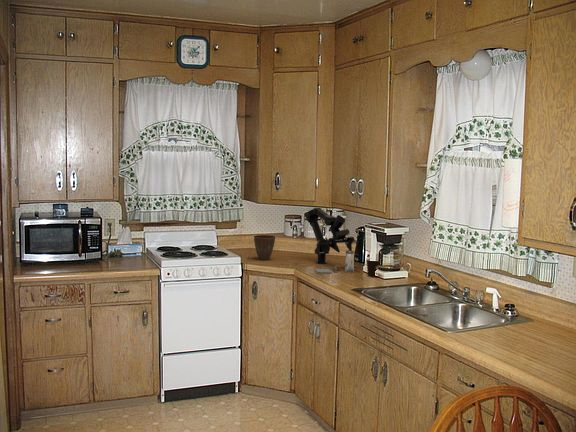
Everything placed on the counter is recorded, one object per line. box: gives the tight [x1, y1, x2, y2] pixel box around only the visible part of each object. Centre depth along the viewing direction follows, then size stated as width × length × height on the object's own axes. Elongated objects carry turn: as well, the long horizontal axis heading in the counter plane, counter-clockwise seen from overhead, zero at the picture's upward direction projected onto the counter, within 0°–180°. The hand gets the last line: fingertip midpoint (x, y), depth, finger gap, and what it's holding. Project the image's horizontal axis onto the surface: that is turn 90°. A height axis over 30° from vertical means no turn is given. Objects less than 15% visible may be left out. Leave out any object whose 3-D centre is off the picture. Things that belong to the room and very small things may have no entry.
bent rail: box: [332, 264, 341, 274], centre depth 376 cm, size 12×4×3 cm, turn 7°
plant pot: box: [253, 234, 276, 261], centre depth 412 cm, size 15×15×16 cm
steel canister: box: [344, 249, 355, 273], centre depth 375 cm, size 5×5×13 cm
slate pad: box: [314, 268, 333, 275], centre depth 372 cm, size 9×9×1 cm
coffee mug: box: [366, 258, 381, 278], centre depth 363 cm, size 12×9×10 cm
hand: (345, 251), depth 379 cm, fingers open, 9 cm apart
